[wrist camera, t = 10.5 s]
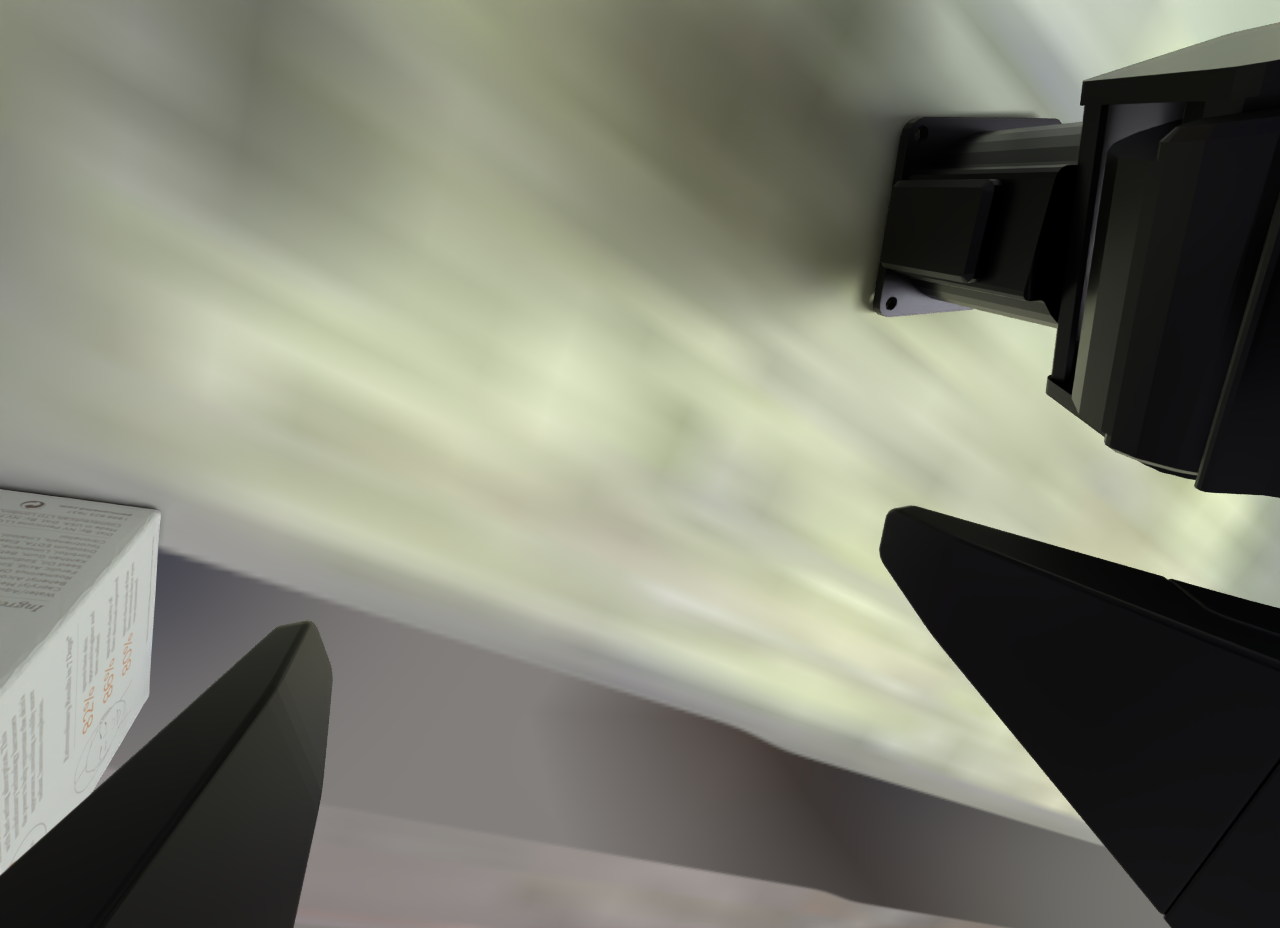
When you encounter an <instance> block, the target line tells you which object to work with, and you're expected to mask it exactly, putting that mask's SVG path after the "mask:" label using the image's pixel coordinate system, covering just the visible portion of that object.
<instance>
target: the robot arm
mask: <svg viewBox="0 0 1280 928" xmlns="http://www.w3.org/2000/svg"><path fill="white" fill-rule="evenodd" d="M1080 105H1081V106H1083V105H1085V106H1084V115H1083V122H1077V123H1067V124H1062V123H1061V122H1060V121H1059V120H1058V119H1047V118H960V117H922V118H916V119H912V120H910V121H909V122H908V123H906V125H905V126H904V128H903V130H902V133H901V137H900V143H899V149H898V156H897V162H896V168H895V174H894V180H893V186H892V192H891V198H890V204H889V210H888V216H887V222H886V228H885V235H884V241H883V247H882V253H881V259H880V265H879V271H878V277H877V283H876V289H875V295H874V301H873V308H874V310H875V312H876V313H877V314H879V315H882V316H886V317H894V316H905V315H916V314H927V313H938V312H949V311H960V310H971V309H977V310H981V311H986V312H990V313H994V314H998V315H1003V316H1007V317H1011V318H1015V319H1019V320H1024V321H1028V322H1032V323H1036V324H1041V325H1045V326H1049V327H1053V328H1057V334H1056V342H1055V350H1054V358H1053V367H1052V375H1049V376H1048V378H1047V386H1046V394H1047V395H1049V396H1050V397H1051V398H1053V399H1054V400H1055V401H1057V402H1058V403H1059V404H1061V405H1062V406H1063V407H1065V408H1066V409H1067V410H1069V411H1070V412H1071V413H1073V414H1074V415H1075V416H1077V417H1078V418H1080V419H1081V420H1082V421H1084V422H1085V423H1086V424H1088V425H1089V426H1090V427H1092V428H1093V429H1094V430H1096V431H1097V432H1098V433H1100V434H1101V435H1102V436H1104V437H1105V439H1104V443H1105V445H1107V446H1108V447H1109V448H1111V449H1112V450H1114V451H1115V452H1117V453H1120V454H1122V455H1125V456H1127V457H1130V458H1132V459H1135V460H1137V461H1139V462H1141V463H1142V464H1144V465H1146V466H1149V467H1151V468H1154V469H1156V470H1157V471H1159V472H1162V473H1166V474H1171V475H1175V476H1179V477H1183V478H1187V479H1193V480H1196V481H1195V485H1194V486H1195V488H1196V489H1198V490H1200V491H1204V492H1210V493H1229V494H1248V495H1265V496H1271V497H1278V498H1280V22H1279V23H1274V24H1270V25H1265V26H1261V27H1256V28H1252V29H1247V30H1243V31H1238V32H1234V33H1230V34H1227V35H1223V36H1220V37H1217V38H1214V39H1211V40H1208V41H1205V42H1202V43H1198V44H1195V45H1192V46H1189V47H1186V48H1183V49H1180V50H1177V51H1174V52H1170V53H1167V54H1164V55H1161V56H1158V57H1155V58H1152V59H1149V60H1146V61H1143V62H1139V63H1136V64H1133V65H1130V66H1127V67H1124V68H1121V69H1118V70H1115V71H1111V72H1108V73H1105V74H1102V75H1099V76H1096V77H1093V78H1090V79H1087V80H1084V81H1083V84H1082V93H1081V101H1080ZM917 129H919V131H920V136H919V139H918V141H917V142H916V140H915V134H916V131H917ZM889 298H890V303H889V305H888V306H887V307H886V302H887V300H888V299H889ZM879 552H880V558H881V560H882V562H883V564H884V566H885V567H886V569H887V570H888V572H889V573H890V574H891V576H892V577H893V579H894V580H895V582H896V583H897V585H898V586H899V588H900V589H901V591H902V592H903V594H904V595H905V597H906V598H907V600H908V601H909V603H910V604H911V606H912V607H913V608H914V610H915V611H916V613H917V614H918V616H919V617H920V619H921V620H922V622H923V623H924V625H925V626H926V627H927V629H928V630H929V632H930V633H931V634H932V636H933V637H934V638H935V640H936V641H937V642H938V643H939V645H940V646H941V647H942V648H943V650H944V651H945V652H946V653H947V654H948V656H949V657H950V658H951V659H952V661H953V662H954V663H955V664H956V665H957V667H958V668H959V669H960V670H961V672H962V673H963V674H964V675H965V676H966V678H967V679H968V680H969V681H970V682H971V684H972V685H973V686H974V687H975V689H976V690H977V691H978V692H979V693H980V695H981V696H982V697H983V698H984V700H985V701H986V702H987V703H988V704H989V706H990V707H991V708H992V709H993V711H994V712H995V713H996V714H997V715H998V717H999V718H1000V719H1001V720H1002V721H1003V723H1004V724H1005V725H1006V726H1007V728H1008V729H1009V730H1010V731H1011V732H1012V734H1013V735H1014V736H1015V737H1016V739H1017V740H1018V741H1019V742H1020V743H1021V745H1022V746H1023V747H1024V748H1025V749H1026V751H1027V752H1028V753H1029V754H1030V756H1031V757H1032V758H1033V759H1034V760H1035V762H1036V763H1037V764H1038V765H1039V767H1040V768H1041V769H1042V770H1043V771H1044V773H1045V774H1046V775H1047V776H1048V777H1049V779H1050V780H1051V781H1052V782H1053V784H1054V785H1055V786H1056V787H1057V788H1058V790H1059V791H1060V792H1061V793H1062V795H1063V796H1064V797H1065V798H1066V799H1067V801H1068V802H1069V803H1070V804H1071V806H1072V807H1073V808H1074V809H1075V810H1076V812H1077V813H1078V814H1079V815H1080V816H1081V818H1082V819H1083V820H1084V821H1085V823H1086V824H1087V825H1088V826H1089V827H1090V829H1091V830H1092V831H1093V832H1094V834H1095V835H1096V836H1097V837H1098V838H1099V840H1100V841H1101V842H1102V843H1103V844H1104V846H1105V847H1106V848H1107V849H1108V851H1109V852H1110V853H1111V854H1112V855H1113V857H1114V858H1115V859H1116V860H1117V861H1118V863H1119V864H1120V865H1121V866H1122V868H1123V869H1124V870H1125V871H1126V872H1127V874H1128V875H1129V876H1130V877H1131V879H1132V880H1133V881H1134V882H1135V883H1136V885H1137V886H1138V887H1139V888H1140V890H1141V891H1142V892H1143V893H1144V894H1145V896H1146V897H1147V898H1148V899H1149V901H1151V903H1152V904H1153V905H1154V907H1156V909H1157V910H1158V911H1159V912H1160V913H1161V914H1163V915H1164V919H1165V921H1166V922H1167V923H1168V924H1169V926H1170V927H1171V928H1280V608H1276V607H1273V606H1269V605H1265V604H1261V603H1257V602H1253V601H1249V600H1246V599H1242V598H1238V597H1235V596H1231V595H1228V594H1224V593H1220V592H1217V591H1213V590H1209V589H1206V588H1202V587H1199V586H1195V585H1192V584H1188V583H1185V582H1181V581H1178V580H1174V579H1168V580H1167V579H1166V578H1165V577H1163V576H1160V575H1156V574H1153V573H1149V572H1146V571H1142V570H1139V569H1135V568H1132V567H1128V566H1125V565H1121V564H1118V563H1114V562H1110V561H1107V560H1103V559H1100V558H1096V557H1093V556H1089V555H1086V554H1082V553H1079V552H1075V551H1072V550H1068V549H1065V548H1061V547H1058V546H1054V545H1051V544H1047V543H1044V542H1040V541H1037V540H1033V539H1030V538H1026V537H1023V536H1019V535H1016V534H1012V533H1009V532H1005V531H1002V530H998V529H995V528H991V527H988V526H984V525H981V524H977V523H974V522H970V521H967V520H963V519H960V518H956V517H953V516H949V515H945V514H942V513H938V512H935V511H931V510H928V509H924V508H921V507H917V506H905V507H899V508H894V509H892V510H890V511H889V512H888V514H887V515H886V519H885V524H884V528H883V533H882V538H881V543H880V548H879ZM332 681H333V679H332V668H331V664H330V661H329V658H328V655H327V653H326V650H325V647H324V644H323V642H322V639H321V636H320V633H319V631H318V628H317V627H316V625H315V624H314V622H312V621H309V620H306V621H301V622H296V623H291V624H286V625H281V626H279V627H276V628H275V629H274V630H272V631H271V632H270V633H269V634H268V635H267V636H266V637H265V638H264V639H263V640H261V641H260V642H259V643H258V644H257V645H256V646H255V647H254V648H252V649H251V650H250V651H249V652H248V653H247V654H246V655H245V656H243V657H242V658H241V659H240V660H239V661H238V662H237V663H236V664H235V665H234V666H232V667H231V668H230V669H229V670H228V671H227V672H226V673H225V674H223V675H222V677H220V678H219V679H218V680H217V681H216V682H215V683H213V684H212V685H211V686H210V687H209V688H208V689H207V690H206V691H205V692H204V693H202V694H201V695H200V696H199V697H198V698H197V699H196V700H195V701H193V702H192V703H191V704H190V705H189V706H188V707H187V708H186V709H185V710H184V711H182V712H181V713H180V714H179V715H178V716H177V717H176V718H175V719H173V721H171V722H170V723H169V724H168V725H167V726H166V727H165V728H164V729H162V730H161V731H160V732H159V733H158V734H157V735H156V736H155V737H153V738H152V739H151V740H150V741H149V742H148V743H147V744H146V745H145V746H143V748H141V749H140V750H139V751H138V752H137V753H136V754H135V755H133V756H132V757H131V758H130V759H129V760H128V761H127V762H126V763H125V764H123V765H122V766H121V767H120V768H119V769H118V770H117V771H116V772H115V773H113V774H112V775H111V776H110V777H109V778H108V779H107V780H106V781H105V782H103V783H102V784H101V785H100V786H99V787H98V788H97V789H96V790H94V791H93V792H92V793H91V794H90V795H89V796H88V797H87V798H86V799H84V800H83V801H82V802H81V803H80V804H79V805H78V806H77V807H76V808H74V809H73V810H72V811H71V812H70V813H69V814H68V815H67V816H66V817H64V818H63V819H62V820H61V821H60V822H59V823H58V824H57V825H56V826H54V827H53V828H52V829H51V830H50V831H49V832H48V833H47V834H46V835H44V836H43V837H42V838H41V839H40V840H39V841H38V842H37V843H36V844H34V845H33V846H32V847H31V848H30V849H29V850H28V851H27V852H26V853H24V854H23V855H22V856H21V857H20V858H19V859H18V860H17V861H15V862H14V863H13V864H12V865H11V866H10V867H9V868H8V869H7V870H5V871H4V872H3V873H2V874H1V875H0V928H294V923H295V918H296V914H297V909H298V904H299V900H300V895H301V890H302V886H303V881H304V876H305V872H306V867H307V862H308V858H309V853H310V848H311V844H312V839H313V834H314V830H315V825H316V820H317V816H318V811H319V805H320V800H321V794H322V787H323V778H324V768H325V758H326V747H327V736H328V724H329V715H330V704H331V692H332Z"/></svg>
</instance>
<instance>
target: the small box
mask: <svg viewBox="0 0 1280 928" xmlns="http://www.w3.org/2000/svg"><path fill="white" fill-rule="evenodd" d="M160 519H161V515H160V511H159V510H155V509H147V508H139V507H132V506H124V505H116V504H109V503H102V502H94V501H87V500H80V499H72V498H64V497H56V496H48V495H41V494H33V493H25V492H18V491H10V490H3V489H0V875H1V874H2V873H3V872H4V871H5V870H7V869H8V868H9V867H10V866H11V865H12V864H13V863H14V862H15V861H17V860H18V859H19V858H20V857H21V856H22V855H23V854H24V853H26V852H27V851H28V850H29V849H30V848H31V847H32V846H33V845H34V844H36V843H37V842H38V841H39V840H40V839H41V838H42V837H43V836H44V835H46V834H47V833H48V832H49V831H50V830H51V829H52V828H53V827H54V826H56V825H57V824H58V823H59V822H60V821H61V820H62V819H63V818H64V817H66V816H67V815H68V814H69V813H70V812H71V811H72V810H73V809H74V808H76V807H77V806H78V805H79V804H80V803H81V802H82V801H83V800H84V799H86V798H87V797H88V796H89V795H90V794H91V793H92V791H93V790H94V788H95V786H96V785H97V783H98V781H99V780H100V778H101V776H102V774H103V773H104V771H105V769H106V768H107V766H108V764H109V763H110V761H111V759H112V757H113V756H114V754H115V752H116V751H117V749H118V747H119V746H120V744H121V742H122V741H123V739H124V737H125V735H126V734H127V732H128V730H129V729H130V727H131V725H132V724H133V722H134V720H135V718H136V717H137V715H138V713H139V712H140V710H141V708H142V706H143V705H144V703H145V701H146V700H147V698H148V696H149V684H150V666H151V650H152V649H151V648H152V633H153V619H154V617H153V616H154V604H155V590H156V572H157V554H158V540H159V527H160Z"/></svg>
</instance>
